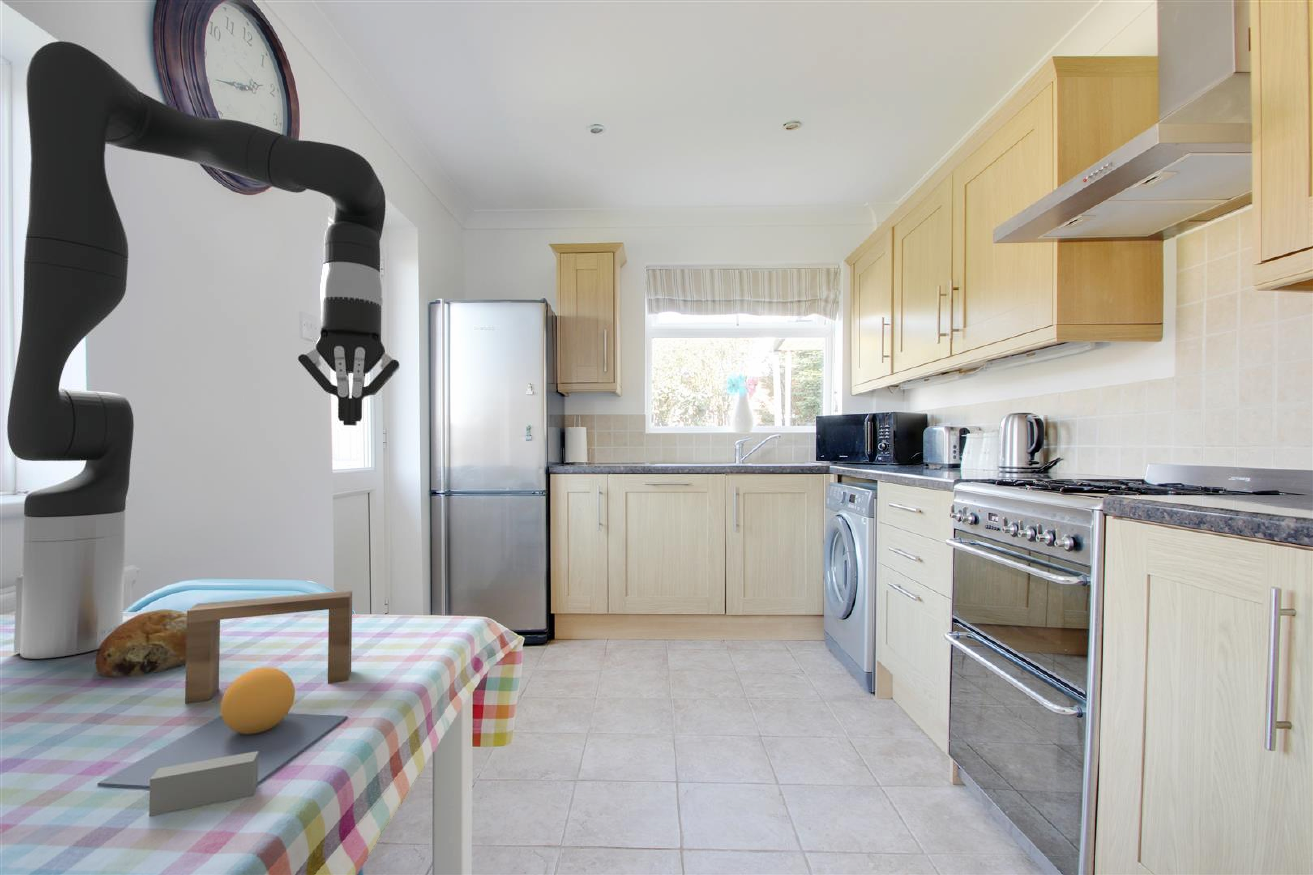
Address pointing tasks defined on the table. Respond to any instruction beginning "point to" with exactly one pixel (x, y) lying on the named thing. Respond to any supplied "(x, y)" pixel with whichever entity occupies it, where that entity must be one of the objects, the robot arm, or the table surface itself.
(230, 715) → the ball
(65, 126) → the robot arm
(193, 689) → the bridge
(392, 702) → the table surface
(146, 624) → the bread roll
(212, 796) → the rail
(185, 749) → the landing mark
